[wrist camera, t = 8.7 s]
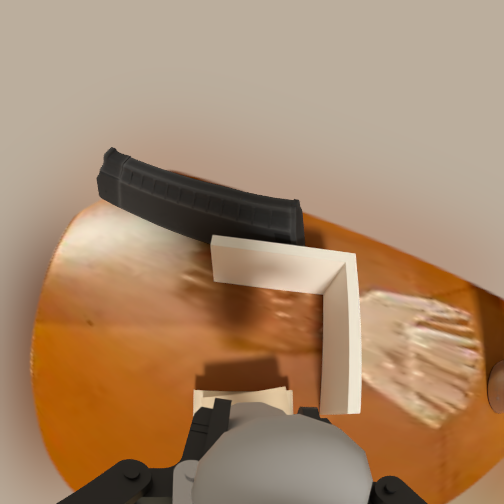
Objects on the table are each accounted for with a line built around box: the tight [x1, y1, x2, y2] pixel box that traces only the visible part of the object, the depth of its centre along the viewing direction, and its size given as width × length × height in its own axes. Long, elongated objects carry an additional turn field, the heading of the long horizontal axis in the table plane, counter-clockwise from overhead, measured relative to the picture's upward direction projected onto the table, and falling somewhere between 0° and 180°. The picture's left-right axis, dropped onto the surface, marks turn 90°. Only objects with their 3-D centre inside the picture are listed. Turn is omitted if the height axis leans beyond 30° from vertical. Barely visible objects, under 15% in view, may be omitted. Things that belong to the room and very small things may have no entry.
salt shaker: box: [191, 402, 373, 504], centre depth 9 cm, size 6×6×13 cm
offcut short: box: [201, 387, 291, 415], centre depth 24 cm, size 8×4×2 cm, turn 99°
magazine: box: [97, 147, 305, 247], centre depth 33 cm, size 17×3×30 cm
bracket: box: [211, 235, 361, 415], centre depth 27 cm, size 15×16×8 cm
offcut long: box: [193, 390, 293, 417], centre depth 26 cm, size 10×4×2 cm, turn 91°
